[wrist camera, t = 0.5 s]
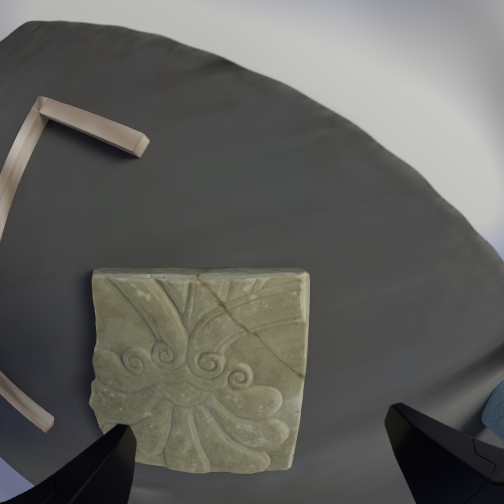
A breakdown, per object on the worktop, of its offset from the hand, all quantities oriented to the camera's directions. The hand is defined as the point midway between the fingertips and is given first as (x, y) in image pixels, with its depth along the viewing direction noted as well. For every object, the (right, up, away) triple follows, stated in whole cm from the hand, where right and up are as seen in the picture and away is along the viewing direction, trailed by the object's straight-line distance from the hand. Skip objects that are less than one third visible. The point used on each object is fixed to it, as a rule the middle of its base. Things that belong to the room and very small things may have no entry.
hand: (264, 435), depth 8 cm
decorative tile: (-6, -5, +15) cm, 17 cm away
